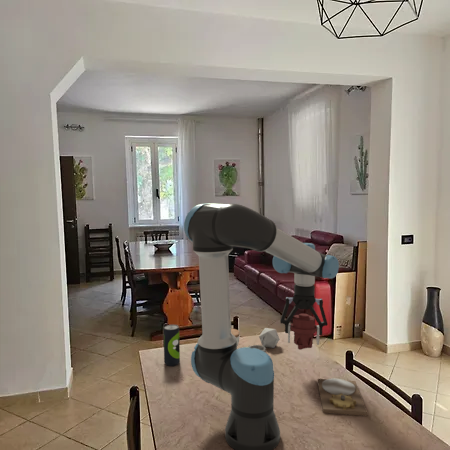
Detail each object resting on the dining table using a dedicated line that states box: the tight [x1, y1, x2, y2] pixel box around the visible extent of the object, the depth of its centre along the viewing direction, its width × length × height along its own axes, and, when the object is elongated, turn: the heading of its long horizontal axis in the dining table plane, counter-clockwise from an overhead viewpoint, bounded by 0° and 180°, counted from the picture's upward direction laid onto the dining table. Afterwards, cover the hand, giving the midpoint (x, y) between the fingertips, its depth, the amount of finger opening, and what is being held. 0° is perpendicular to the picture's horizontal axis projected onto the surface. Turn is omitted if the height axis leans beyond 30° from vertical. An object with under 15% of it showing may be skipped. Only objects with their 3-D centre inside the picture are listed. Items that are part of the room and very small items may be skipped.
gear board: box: [317, 377, 368, 417], centre depth 127 cm, size 20×13×3 cm, turn 171°
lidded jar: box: [231, 327, 241, 347], centre depth 168 cm, size 11×11×9 cm
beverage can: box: [163, 324, 181, 367], centre depth 154 cm, size 6×6×15 cm
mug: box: [247, 344, 267, 353], centre depth 155 cm, size 10×7×7 cm
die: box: [258, 327, 281, 349], centre depth 171 cm, size 8×9×10 cm
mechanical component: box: [290, 313, 317, 351], centre depth 146 cm, size 12×10×10 cm
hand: (303, 342), depth 146 cm, fingers closed on mechanical component, 10 cm apart
